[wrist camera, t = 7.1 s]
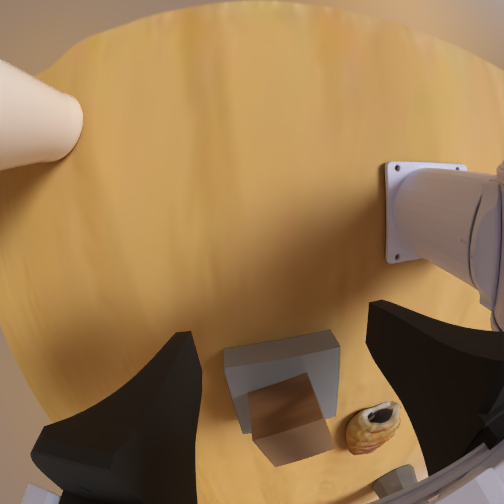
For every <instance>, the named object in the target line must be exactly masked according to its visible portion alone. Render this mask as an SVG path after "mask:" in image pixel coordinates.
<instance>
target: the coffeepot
mask: <svg viewBox="0 0 504 504" xmlns="http://www.w3.org/2000/svg"><path fill="white" fill-rule="evenodd" d="M416 483H418V482H417V479H416V475H415V472H414V468H413V467H412V466H411V465H404V466H401V467H399V468H396V469H394V470H392V471H390V472H388V473H387V474H385V475H383V476H382V477H380V478H379V479H378V480H376V481H375V482H374V484H373V486H372V488H373V489H374V491H375V492H376V494H377V495H378V497H379V498H380V499H381V498H384V497H386V496H389V495H391V494H394V493H396V492H398V491H401V490H403V489H405V488H407V487H409V486H412V485H414V484H416ZM427 503H429V502H428V501H425V502H423V503H421V504H427Z"/></svg>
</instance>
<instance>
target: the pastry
mask: <svg viewBox="0 0 504 504" xmlns="http://www.w3.org/2000/svg"><path fill="white" fill-rule="evenodd" d="M400 409H401V406H400V404H398V403H395V402H393V401H391V402H384V403H382V404H379V405H377V406H374V407H372V408H368V409H365V410H362V411H361V412H359V413H358V414H356V415H355V416H353V417H352V419H351V420H350V421H349V422H348V426H347V428H346V442H347V446H348V449H349V452H350V453H352V454H353V455H359V454H368V453H371V452H373V451H374V450H376V449H377V448H378V447H380V446H381V445H383V444H384V443H385V442H386V441H388V440H389V439H390V438H391V437H393V436H394V434H395V430H396V429H397V428H398V427H399V425H400Z"/></svg>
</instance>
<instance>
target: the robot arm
mask: <svg viewBox="0 0 504 504" xmlns="http://www.w3.org/2000/svg"><path fill="white" fill-rule="evenodd" d="M396 165H397V167H398V170H397V171H396V170H395V166H396ZM456 169H457V170H456ZM496 171H497V175H492V174H485V173H478V172H470V171H467V167H466V166H465V165H462V164H448V163H429V162H387V163H386V165H385V182H386V261H387V262H388V263H390V264H394V263H399V262H405V261H410V260H416V259H421V258H424V259H426V260H428V261H429V262H431V263H433V264H435V265H436V266H438V267H440V268H442V269H443V270H445V271H447V272H449V273H450V274H452V275H454V276H455V277H457V278H459V279H461V280H462V281H464V282H466V283H467V284H469V285H470V286H472V287H474V288H475V289H477V290H478V291H479V293H480V304H482V305H483V306H485V307H486V308H488V309H489V310H490V311H492V313H491V318H490V321H491V328H492V331H485V330H477V329H471V328H465V327H461V326H457V325H452V324H449V323H445V322H442V321H439V320H436V319H433V318H430V317H427V316H425V315H422V314H419V313H417V312H414V311H412V310H409V309H407V308H404V307H402V306H399V305H397V304H394V303H391V302H388V301H385V300H378V301H374V302H369V312H368V323H367V334H366V345H367V347H368V349H369V351H370V353H371V355H372V357H373V359H374V361H375V363H376V364H377V366H378V367H379V369H380V370H381V372H382V373H383V375H384V376H385V378H386V379H387V381H388V382H389V384H390V385H391V387H392V388H393V390H394V391H395V393H396V394H397V396H398V397H399V399H400V401H401V402H402V404H403V406H404V408H405V410H406V412H407V414H408V417H409V419H410V421H411V423H412V426H413V428H414V431H415V433H416V436H417V438H418V441H419V444H420V447H421V450H422V453H423V456H424V460H425V464H426V467H427V471H428V476H429V477H428V478H426V479H424V480H422V481H420V482H418V483H416V484H414V485H412V486H409V487H407V488H405V489H403V490H401V491H398V492H396V493H394V494H391V495H389V496H386V497H384V498H381V499H379V500H376V501H373V502H370V503H368V504H421V503H423V502H425V501H427V500H428V499H430V498H432V497H434V496H436V495H438V494H439V493H440V495H439V496H438V498H436V499H435V500H433V501H431V502H429V503H427V504H504V160H503V162H502V163H501V165H499V166H498V167H497V169H496ZM397 254H398V257H397V258H396V259H395V256H396V255H397ZM201 396H202V368H201V365H200V361H199V358H198V355H197V351H196V347H195V344H194V340H193V337H192V333H191V331H187V332H176V333H175V334H174V335H173V336H172V337H171V339H170V340H169V341H168V342H167V343H166V344H165V345H164V346H163V348H162V349H161V350H160V351H159V352H158V353H157V354H156V355H155V356H154V358H153V359H152V360H151V361H150V362H149V363H148V364H147V365H146V366H145V367H144V368H143V369H142V370H141V371H140V372H139V373H138V374H137V375H135V376H134V377H133V378H132V379H131V380H130V381H129V382H127V383H126V384H125V385H124V386H122V387H121V388H120V389H119V390H117V391H116V392H114V393H113V394H112V395H110V396H108V397H107V398H105V399H104V400H102V401H101V402H99V403H97V404H96V405H94V406H92V407H90V408H89V409H87V410H85V411H83V412H81V413H78V414H76V415H74V416H72V417H70V418H67V419H64V420H62V421H59V422H56V423H53V424H50V425H47V426H44V428H43V430H42V432H41V433H40V436H39V437H38V439H37V441H36V443H35V445H34V447H33V449H32V451H31V458H32V461H33V462H34V463H35V465H36V466H37V467H38V468H39V469H40V470H41V471H42V472H43V473H44V474H45V475H46V476H47V477H48V478H49V479H51V480H52V481H53V482H54V483H55V484H56V485H57V486H59V487H60V488H61V489H62V490H63V493H62V496H59V495H57V494H56V493H54V492H52V491H49V490H47V489H44V488H42V487H40V486H37V485H35V484H33V483H29V484H28V487H27V489H26V492H25V494H24V497H23V500H22V502H21V504H197V491H196V472H195V442H196V432H197V424H198V417H199V410H200V403H201ZM441 492H442V493H441Z"/></svg>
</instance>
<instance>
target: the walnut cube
mask: <svg viewBox="0 0 504 504" xmlns="http://www.w3.org/2000/svg"><path fill="white" fill-rule="evenodd" d="M248 400H249V411H250V421H251V431H252V440H253V442H254V443H255V444H256V445H257V446H258V448H259V449H260V450H261V451H262V452H263V454H264V455H265V456H266V457H267V458H268V459H269V461H270V462H271V463H272V464H273V465H274V466H275V467H278V466H282V465H285V464H289V463H292V462H296V461H299V460H302V459H305V458H309V457H312V456H315V455H318V454H320V453H323V452H326V451H329V450H332V449H334V448H335V446H334V443H333V440H332V437H331V434H330V432H329V429H328V426H327V423H326V421H325V418H324V415H323V412H322V410H321V407H320V404H319V402H318V399H317V397H316V394H315V392H314V389H313V386H312V384H311V381H310V379H309V376H308V374H307V372H306V373H303V374H301V375H298V376H295V377H293V378H290V379H287V380H284V381H281V382H279V383H276V384H273V385H270V386H267V387H264V388H261V389H258V390H254V391H251V392H248Z"/></svg>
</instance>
